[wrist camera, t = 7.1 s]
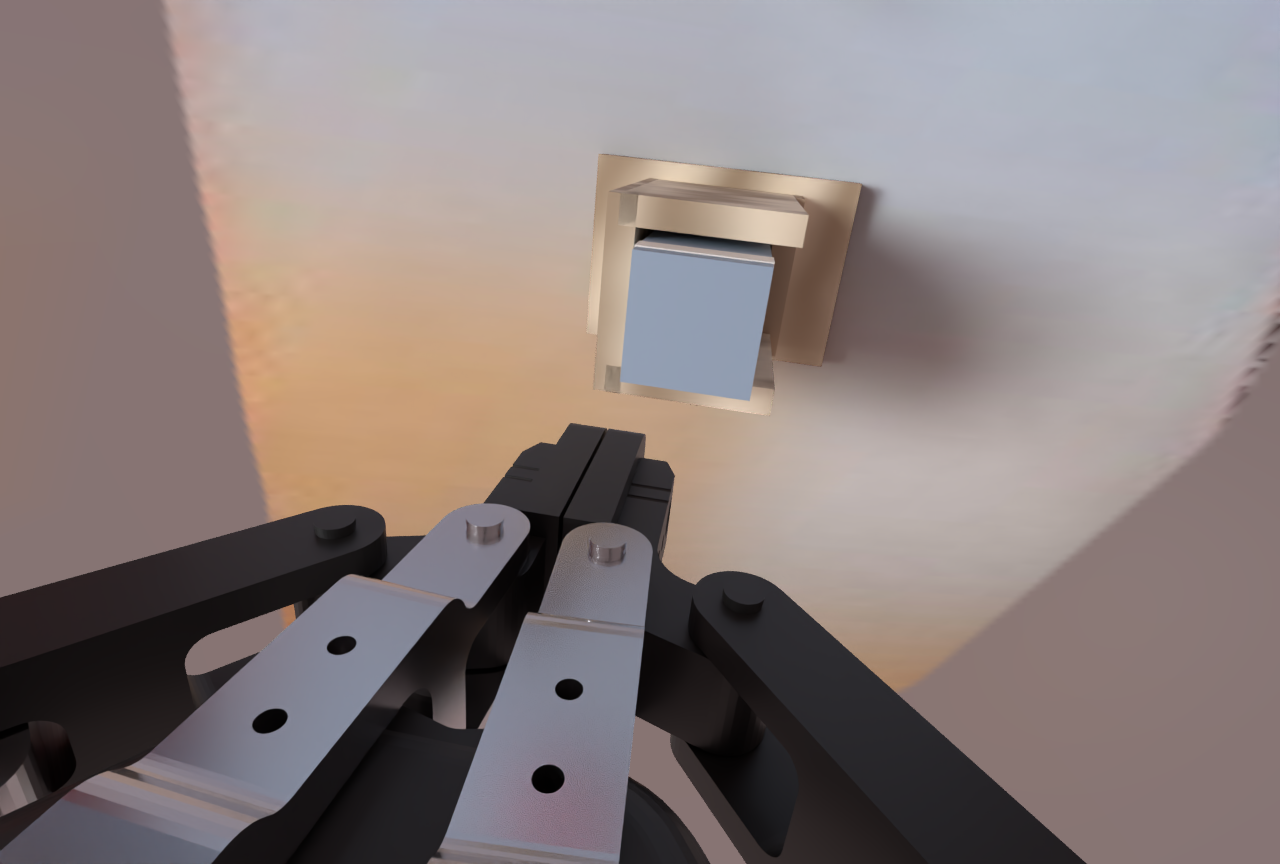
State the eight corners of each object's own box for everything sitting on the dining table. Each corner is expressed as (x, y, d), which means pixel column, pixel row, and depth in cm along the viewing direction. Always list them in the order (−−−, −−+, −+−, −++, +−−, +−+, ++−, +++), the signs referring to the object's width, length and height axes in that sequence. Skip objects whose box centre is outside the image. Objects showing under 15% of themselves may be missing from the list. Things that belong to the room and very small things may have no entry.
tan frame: (858, 183, 36) (907, 200, 24) (819, 360, 40) (846, 447, 28) (603, 153, 37) (536, 157, 26) (590, 328, 41) (528, 398, 30)
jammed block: (767, 223, 36) (775, 266, 23) (751, 316, 38) (750, 402, 25) (673, 211, 36) (630, 248, 24) (663, 304, 38) (618, 382, 26)
